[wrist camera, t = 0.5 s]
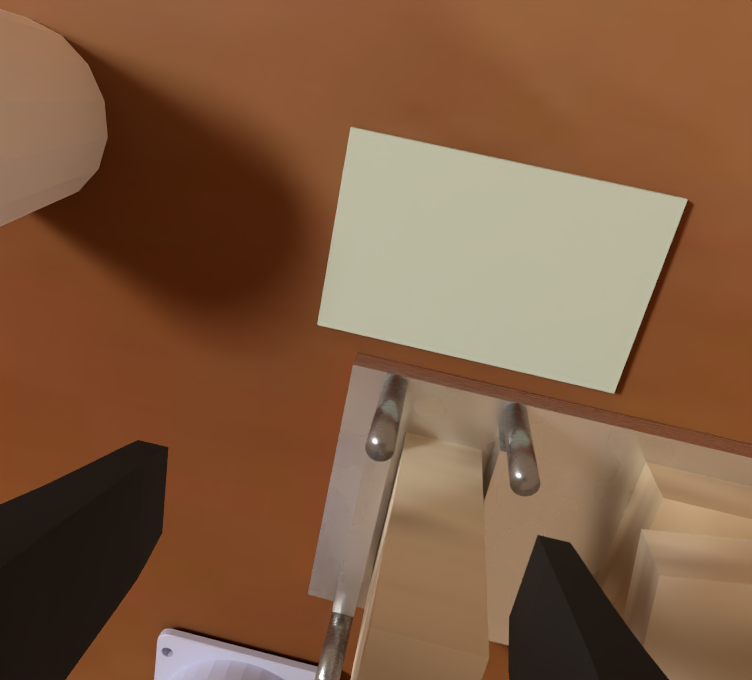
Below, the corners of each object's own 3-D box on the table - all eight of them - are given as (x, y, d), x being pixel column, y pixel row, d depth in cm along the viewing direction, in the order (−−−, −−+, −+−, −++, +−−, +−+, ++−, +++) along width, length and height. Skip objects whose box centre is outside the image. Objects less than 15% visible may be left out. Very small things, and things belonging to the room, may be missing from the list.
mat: (612, 389, 21) (613, 393, 21) (319, 321, 22) (317, 324, 21) (684, 197, 19) (687, 199, 18) (352, 126, 19) (350, 127, 19)
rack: (711, 676, 25) (767, 811, 20) (313, 576, 26) (279, 682, 21) (830, 463, 21) (931, 568, 16) (358, 353, 22) (328, 423, 17)
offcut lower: (704, 673, 24) (724, 723, 22) (570, 640, 24) (579, 686, 22) (800, 498, 21) (833, 538, 19) (646, 461, 21) (663, 498, 19)
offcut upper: (746, 700, 21) (772, 758, 19) (609, 683, 22) (622, 738, 20) (795, 543, 19) (831, 592, 17) (641, 529, 19) (659, 574, 18)
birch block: (440, 585, 24) (427, 830, 16) (372, 568, 24) (326, 802, 16) (481, 450, 21) (489, 658, 14) (406, 432, 22) (370, 627, 14)
